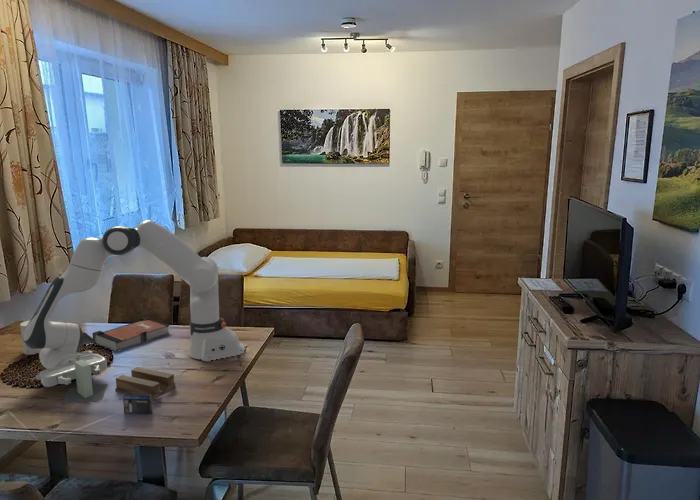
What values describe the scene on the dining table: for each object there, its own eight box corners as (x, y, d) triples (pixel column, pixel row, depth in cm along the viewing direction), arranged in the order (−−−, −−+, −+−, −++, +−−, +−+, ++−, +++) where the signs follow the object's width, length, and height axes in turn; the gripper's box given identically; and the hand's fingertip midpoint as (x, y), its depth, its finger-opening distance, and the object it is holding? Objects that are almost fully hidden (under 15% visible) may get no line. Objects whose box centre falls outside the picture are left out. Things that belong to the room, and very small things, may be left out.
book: (117, 353, 199) (116, 341, 198) (93, 343, 208) (92, 332, 207) (171, 334, 221) (170, 323, 220) (147, 326, 230) (146, 316, 229)
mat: (107, 384, 171) (107, 383, 171) (101, 400, 159) (101, 399, 159) (69, 389, 167) (69, 388, 167) (60, 405, 156) (60, 404, 156)
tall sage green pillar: (85, 389, 166) (82, 359, 164) (93, 395, 162) (90, 364, 160) (77, 392, 164) (74, 361, 162) (85, 397, 160) (82, 366, 158)
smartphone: (84, 331, 220) (95, 340, 209) (84, 333, 220) (96, 342, 209) (66, 336, 214) (76, 344, 204) (66, 337, 215) (77, 346, 204)
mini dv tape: (124, 413, 152) (123, 396, 151) (126, 411, 153) (125, 393, 152) (150, 414, 152) (149, 396, 151) (152, 411, 153) (151, 394, 152)
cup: (18, 352, 197) (15, 324, 194) (38, 345, 204) (35, 318, 202) (32, 355, 194) (29, 327, 191) (51, 348, 201) (48, 321, 199)
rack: (139, 378, 176) (138, 366, 175) (175, 386, 170) (174, 373, 170) (115, 391, 166) (114, 379, 165) (152, 400, 160) (152, 387, 159)
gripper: (32, 366, 162) (48, 379, 153) (95, 348, 178) (113, 359, 169) (34, 384, 163) (50, 397, 155) (97, 365, 179) (114, 375, 170)
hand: (84, 377), depth 162 cm, fingers open, 8 cm apart
